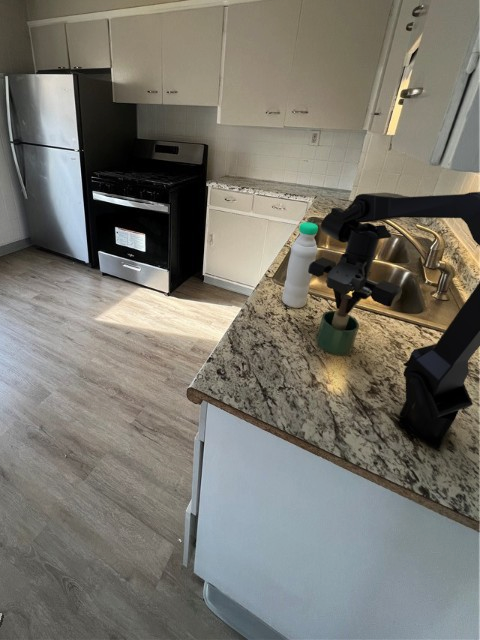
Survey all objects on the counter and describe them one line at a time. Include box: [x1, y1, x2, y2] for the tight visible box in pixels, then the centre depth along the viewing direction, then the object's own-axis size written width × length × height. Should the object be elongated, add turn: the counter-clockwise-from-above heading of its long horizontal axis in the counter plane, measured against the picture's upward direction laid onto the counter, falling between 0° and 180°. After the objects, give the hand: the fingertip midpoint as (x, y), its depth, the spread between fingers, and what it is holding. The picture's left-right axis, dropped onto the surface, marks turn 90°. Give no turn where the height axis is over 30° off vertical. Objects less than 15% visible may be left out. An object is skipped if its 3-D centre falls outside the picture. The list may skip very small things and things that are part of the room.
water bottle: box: [281, 221, 319, 309], centre depth 89 cm, size 7×7×25 cm
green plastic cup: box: [316, 310, 360, 356], centre depth 77 cm, size 8×8×7 cm
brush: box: [331, 294, 352, 330], centre depth 74 cm, size 3×3×9 cm
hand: (343, 310), depth 74 cm, fingers closed on brush, 2 cm apart
